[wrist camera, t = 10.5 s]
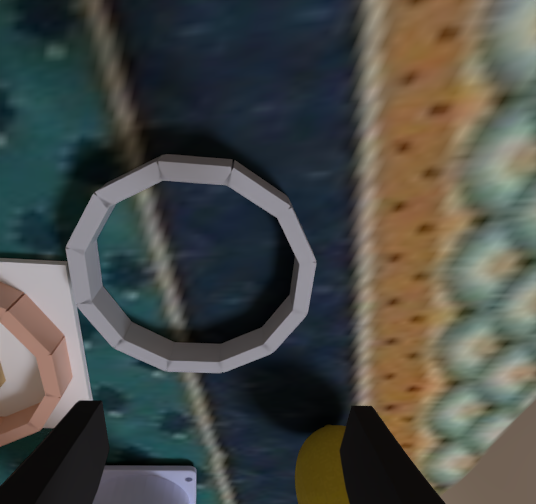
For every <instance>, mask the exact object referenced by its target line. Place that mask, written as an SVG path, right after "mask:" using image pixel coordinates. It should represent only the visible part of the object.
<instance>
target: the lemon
mask: <svg viewBox="0 0 536 504" xmlns="http://www.w3.org/2000/svg"><path fill="white" fill-rule="evenodd" d="M345 429H346V426H340V425H326V426H324V427H323V428H320V429H318V430H317V431H315V432H313V433H312V434H311V435H310V436H309V437H308V438H307V439H306V441H305V442H304V444H303V445H302V447H301V449H300V451H299V454H298V458H297V463H296V469H295V487H296V494H297V499H298V504H350V503H349V499H348V495H347V492H346V487H345V482H344V476H343V470H342V464H341V458H340V451H339V450H340V447H341V443H342V439H343V436H344V432H345Z"/></svg>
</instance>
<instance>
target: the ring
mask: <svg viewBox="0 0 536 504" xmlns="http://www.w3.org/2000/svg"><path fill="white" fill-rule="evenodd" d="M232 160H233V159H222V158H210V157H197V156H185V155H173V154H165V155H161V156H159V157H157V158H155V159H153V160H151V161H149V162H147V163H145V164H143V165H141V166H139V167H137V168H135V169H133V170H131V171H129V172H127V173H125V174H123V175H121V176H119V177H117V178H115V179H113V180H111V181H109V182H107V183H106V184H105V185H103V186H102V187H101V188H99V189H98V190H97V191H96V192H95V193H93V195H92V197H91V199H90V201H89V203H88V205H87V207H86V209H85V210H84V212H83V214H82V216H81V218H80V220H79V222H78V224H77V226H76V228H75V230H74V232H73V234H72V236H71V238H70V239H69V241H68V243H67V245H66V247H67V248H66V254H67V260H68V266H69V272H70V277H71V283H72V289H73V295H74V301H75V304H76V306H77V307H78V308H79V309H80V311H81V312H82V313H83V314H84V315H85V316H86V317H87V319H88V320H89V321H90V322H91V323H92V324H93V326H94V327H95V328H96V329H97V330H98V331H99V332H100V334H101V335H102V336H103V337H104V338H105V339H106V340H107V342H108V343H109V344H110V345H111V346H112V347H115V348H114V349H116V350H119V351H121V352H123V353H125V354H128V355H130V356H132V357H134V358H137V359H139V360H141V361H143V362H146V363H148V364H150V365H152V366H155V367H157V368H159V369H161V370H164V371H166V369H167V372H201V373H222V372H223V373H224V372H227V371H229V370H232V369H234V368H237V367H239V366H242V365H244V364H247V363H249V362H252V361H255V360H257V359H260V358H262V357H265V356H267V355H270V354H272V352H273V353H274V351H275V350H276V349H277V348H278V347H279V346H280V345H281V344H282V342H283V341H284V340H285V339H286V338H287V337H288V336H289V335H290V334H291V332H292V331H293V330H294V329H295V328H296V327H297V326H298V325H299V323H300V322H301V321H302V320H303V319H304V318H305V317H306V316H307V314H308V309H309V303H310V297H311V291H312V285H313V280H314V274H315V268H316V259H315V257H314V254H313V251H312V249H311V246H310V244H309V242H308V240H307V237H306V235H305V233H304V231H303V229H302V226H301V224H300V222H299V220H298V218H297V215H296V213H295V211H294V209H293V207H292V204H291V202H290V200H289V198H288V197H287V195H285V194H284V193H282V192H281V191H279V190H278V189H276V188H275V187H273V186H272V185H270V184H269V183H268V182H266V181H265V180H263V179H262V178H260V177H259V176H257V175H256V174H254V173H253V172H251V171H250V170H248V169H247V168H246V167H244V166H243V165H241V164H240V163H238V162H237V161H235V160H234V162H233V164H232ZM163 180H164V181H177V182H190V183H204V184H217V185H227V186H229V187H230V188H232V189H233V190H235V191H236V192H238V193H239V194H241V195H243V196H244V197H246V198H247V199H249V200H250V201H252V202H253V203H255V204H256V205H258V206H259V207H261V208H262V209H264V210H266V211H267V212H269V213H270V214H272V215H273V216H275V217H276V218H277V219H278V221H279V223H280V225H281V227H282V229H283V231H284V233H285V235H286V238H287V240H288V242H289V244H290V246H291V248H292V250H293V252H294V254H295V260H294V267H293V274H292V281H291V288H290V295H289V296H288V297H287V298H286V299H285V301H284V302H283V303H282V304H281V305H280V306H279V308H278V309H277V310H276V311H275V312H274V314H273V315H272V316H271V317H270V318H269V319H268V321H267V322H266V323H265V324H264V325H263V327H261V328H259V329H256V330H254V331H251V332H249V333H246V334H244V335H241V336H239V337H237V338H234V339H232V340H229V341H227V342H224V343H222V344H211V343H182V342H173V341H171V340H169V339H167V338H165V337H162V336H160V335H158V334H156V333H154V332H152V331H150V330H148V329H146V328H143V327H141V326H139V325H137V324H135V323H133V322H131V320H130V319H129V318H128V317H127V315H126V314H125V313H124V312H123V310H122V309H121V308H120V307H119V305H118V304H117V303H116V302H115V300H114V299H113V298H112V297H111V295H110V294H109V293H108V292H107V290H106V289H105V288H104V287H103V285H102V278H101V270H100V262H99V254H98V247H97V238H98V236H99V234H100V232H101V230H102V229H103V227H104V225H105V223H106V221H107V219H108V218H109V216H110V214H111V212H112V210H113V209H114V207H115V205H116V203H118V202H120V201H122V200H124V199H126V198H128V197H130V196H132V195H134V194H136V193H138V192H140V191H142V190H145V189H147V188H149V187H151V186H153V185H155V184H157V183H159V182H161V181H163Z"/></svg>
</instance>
